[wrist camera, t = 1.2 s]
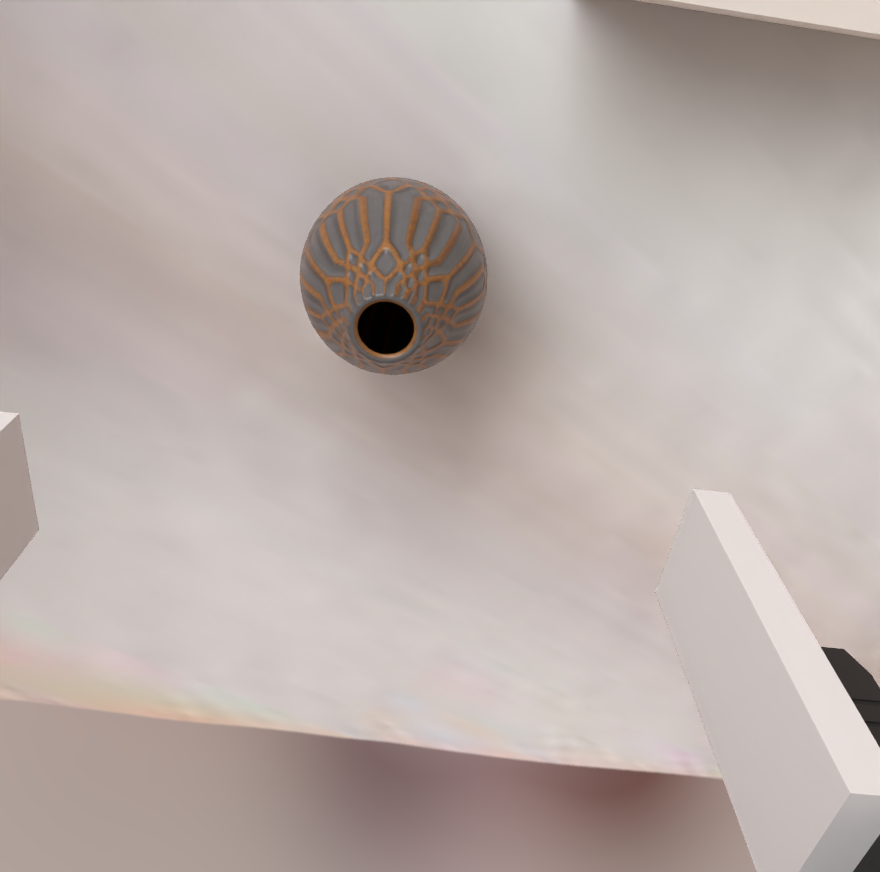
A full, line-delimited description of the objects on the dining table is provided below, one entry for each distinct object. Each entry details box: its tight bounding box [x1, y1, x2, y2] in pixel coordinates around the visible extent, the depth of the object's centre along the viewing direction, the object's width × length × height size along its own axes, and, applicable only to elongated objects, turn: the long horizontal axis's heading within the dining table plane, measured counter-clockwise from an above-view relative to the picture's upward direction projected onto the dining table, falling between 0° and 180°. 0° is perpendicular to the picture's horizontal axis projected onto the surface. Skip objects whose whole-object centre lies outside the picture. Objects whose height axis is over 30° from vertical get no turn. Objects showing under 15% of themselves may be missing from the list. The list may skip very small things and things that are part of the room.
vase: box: [300, 177, 487, 375], centre depth 27 cm, size 7×7×9 cm
